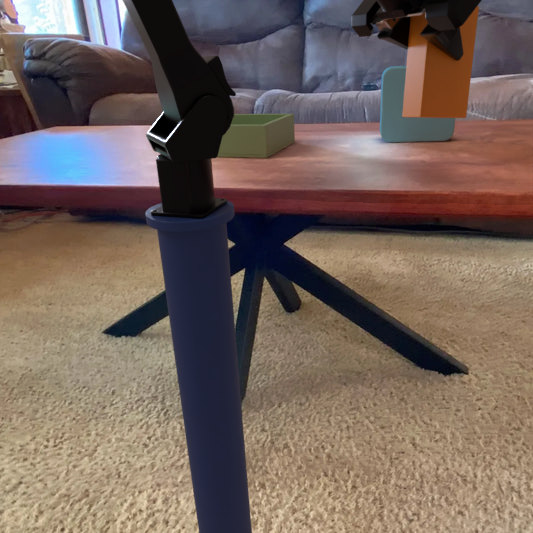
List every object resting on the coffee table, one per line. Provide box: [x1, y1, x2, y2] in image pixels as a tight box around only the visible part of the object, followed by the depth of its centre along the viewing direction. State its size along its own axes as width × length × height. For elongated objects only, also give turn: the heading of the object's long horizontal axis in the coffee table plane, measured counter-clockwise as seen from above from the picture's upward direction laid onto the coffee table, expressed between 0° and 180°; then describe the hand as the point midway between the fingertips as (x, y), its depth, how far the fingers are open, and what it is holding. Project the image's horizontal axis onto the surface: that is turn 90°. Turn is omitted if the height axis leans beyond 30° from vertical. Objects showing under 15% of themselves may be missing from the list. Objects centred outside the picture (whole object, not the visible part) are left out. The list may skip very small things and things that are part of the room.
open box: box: [217, 113, 296, 159], centre depth 88 cm, size 15×15×5 cm
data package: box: [379, 65, 456, 143], centre depth 86 cm, size 12×4×12 cm, turn 81°
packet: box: [402, 6, 480, 119], centre depth 64 cm, size 4×7×13 cm, turn 110°
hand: (447, 57), depth 65 cm, fingers closed on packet, 4 cm apart
